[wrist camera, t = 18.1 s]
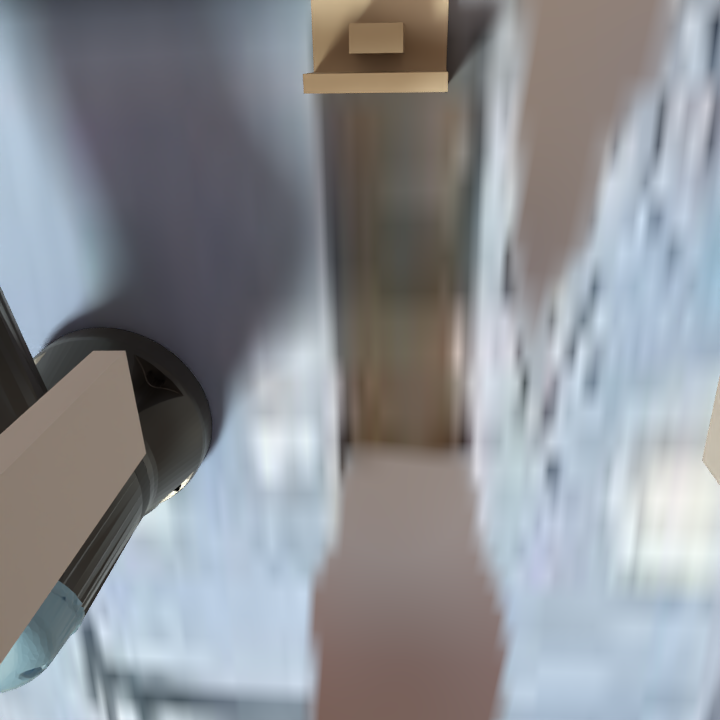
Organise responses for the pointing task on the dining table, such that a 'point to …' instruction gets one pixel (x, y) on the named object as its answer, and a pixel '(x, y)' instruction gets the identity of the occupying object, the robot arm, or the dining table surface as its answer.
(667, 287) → the dining table surface
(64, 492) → the robot arm
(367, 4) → the birch cradle
